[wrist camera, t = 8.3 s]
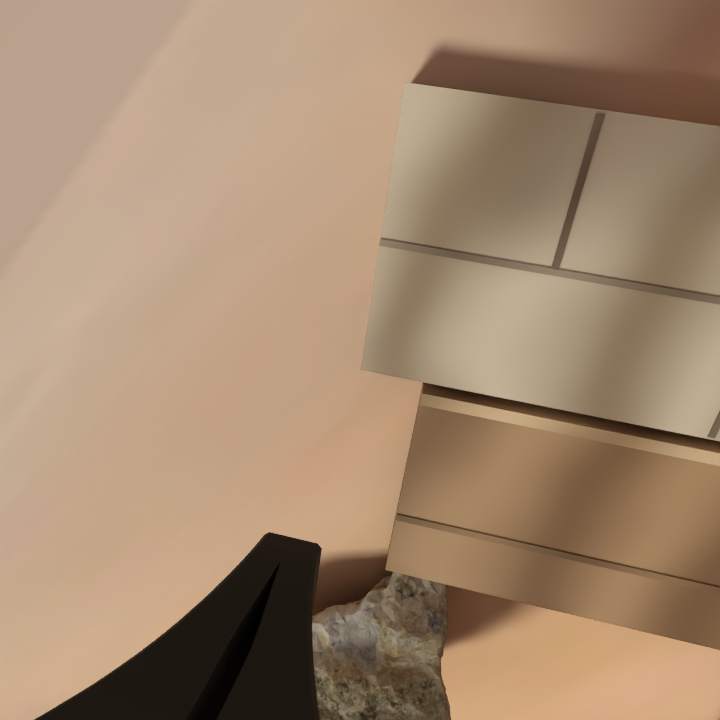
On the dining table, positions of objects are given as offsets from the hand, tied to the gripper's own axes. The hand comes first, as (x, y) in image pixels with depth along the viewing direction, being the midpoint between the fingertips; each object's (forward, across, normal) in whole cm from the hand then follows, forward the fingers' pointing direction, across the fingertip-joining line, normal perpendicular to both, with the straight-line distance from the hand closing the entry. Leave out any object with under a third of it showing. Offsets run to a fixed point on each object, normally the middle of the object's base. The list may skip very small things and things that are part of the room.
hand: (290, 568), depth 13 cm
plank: (+10, -10, +4) cm, 15 cm away
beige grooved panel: (+10, -10, -6) cm, 16 cm away
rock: (+11, -2, +13) cm, 17 cm away
